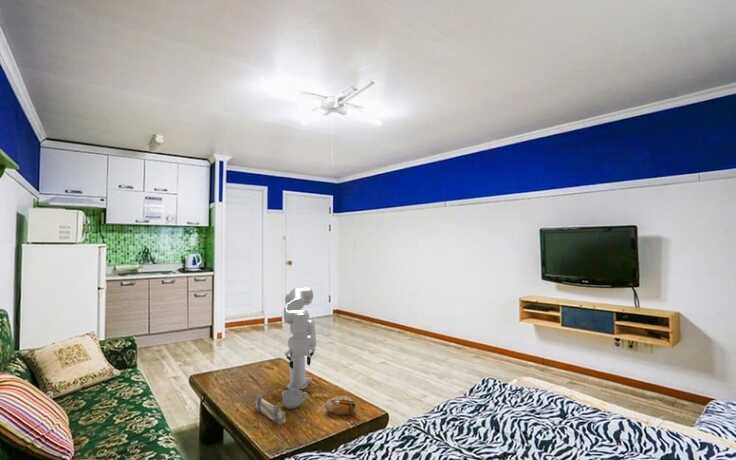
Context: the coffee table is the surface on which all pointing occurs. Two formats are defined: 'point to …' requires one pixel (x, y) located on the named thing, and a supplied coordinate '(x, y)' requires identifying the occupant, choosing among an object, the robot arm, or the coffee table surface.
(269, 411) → the bar
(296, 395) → the teacup
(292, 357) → the robot arm
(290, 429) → the coffee table surface
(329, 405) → the nautilus
